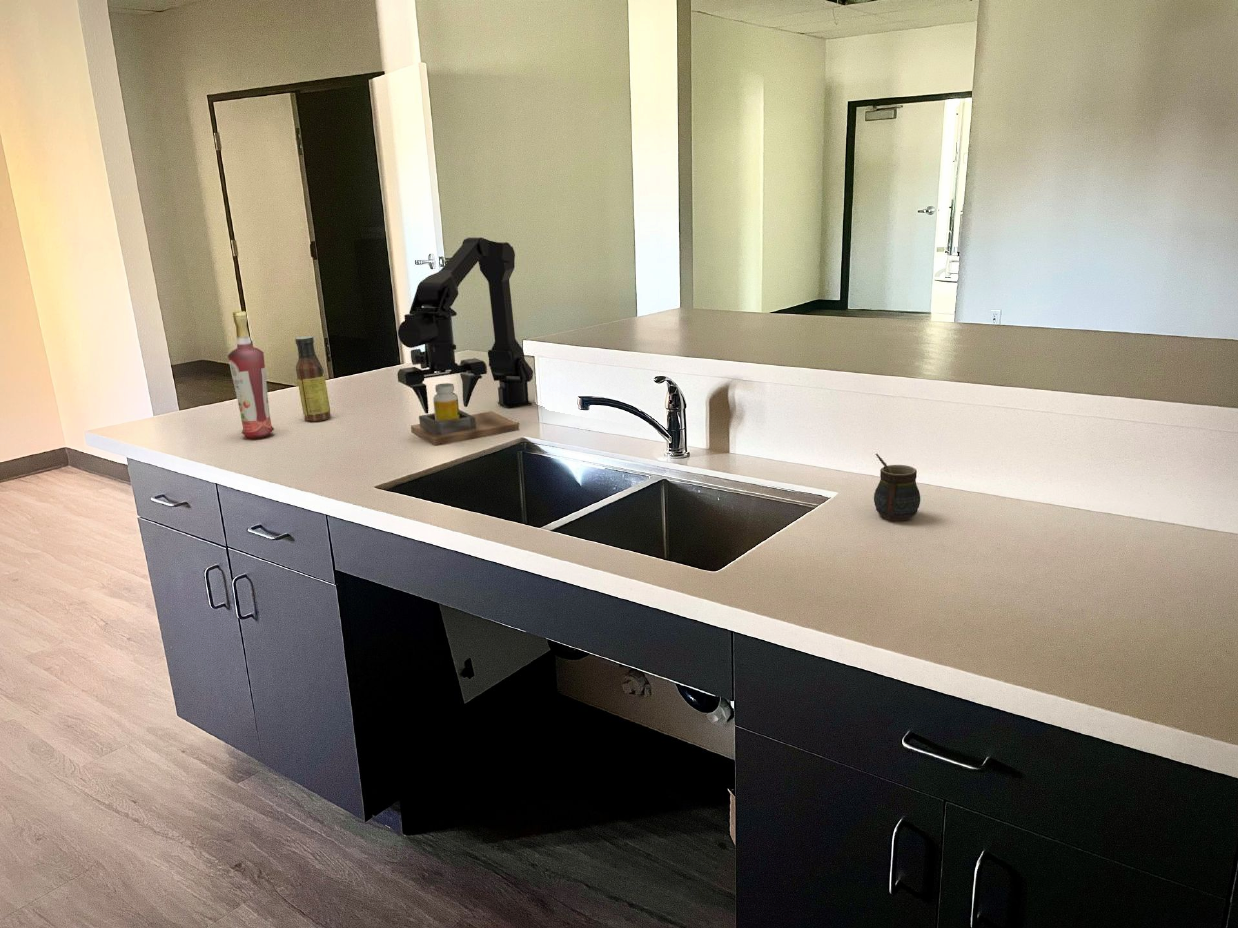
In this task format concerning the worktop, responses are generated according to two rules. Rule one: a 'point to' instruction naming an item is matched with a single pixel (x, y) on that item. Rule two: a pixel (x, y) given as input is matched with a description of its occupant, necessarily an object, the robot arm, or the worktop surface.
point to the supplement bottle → (445, 403)
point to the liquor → (250, 382)
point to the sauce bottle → (311, 382)
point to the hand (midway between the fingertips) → (446, 409)
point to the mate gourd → (897, 492)
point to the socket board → (462, 427)
